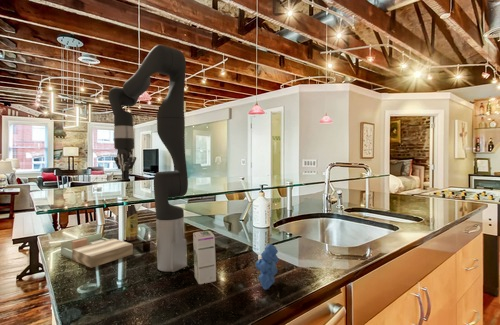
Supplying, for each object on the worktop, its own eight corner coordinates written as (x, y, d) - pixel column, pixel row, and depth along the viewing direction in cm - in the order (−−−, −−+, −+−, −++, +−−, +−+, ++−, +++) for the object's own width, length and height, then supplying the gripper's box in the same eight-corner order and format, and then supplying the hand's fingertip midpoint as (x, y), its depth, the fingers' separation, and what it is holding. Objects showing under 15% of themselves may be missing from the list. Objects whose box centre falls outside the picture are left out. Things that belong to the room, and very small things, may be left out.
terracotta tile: (87, 239, 114) (85, 238, 115) (73, 242, 110) (71, 241, 111) (87, 251, 114) (85, 250, 115) (74, 254, 110) (72, 253, 111)
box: (113, 247, 120) (113, 236, 120) (72, 259, 107) (71, 246, 107) (101, 243, 125) (101, 232, 125) (61, 254, 112) (60, 242, 112)
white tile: (100, 239, 123) (100, 244, 123) (88, 242, 119) (88, 247, 119) (106, 241, 120) (106, 246, 120) (94, 244, 116) (94, 249, 116)
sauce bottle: (132, 241, 128) (131, 198, 127) (120, 241, 129) (118, 197, 128) (140, 237, 134) (139, 195, 134) (129, 237, 135) (127, 195, 135)
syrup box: (216, 281, 87) (215, 234, 86) (197, 285, 84) (196, 236, 84) (211, 274, 92) (210, 229, 91) (193, 277, 89) (192, 232, 89)
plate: (133, 254, 112) (132, 244, 112) (91, 267, 99) (90, 256, 99) (113, 247, 120) (113, 238, 120) (72, 259, 107) (72, 249, 107)
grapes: (262, 275, 90) (261, 238, 90) (282, 278, 87) (282, 240, 87) (247, 292, 79) (246, 249, 79) (270, 296, 77) (269, 252, 76)
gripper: (141, 137, 115) (143, 179, 116) (123, 138, 123) (124, 178, 123) (124, 136, 109) (126, 181, 110) (106, 138, 117) (107, 179, 117)
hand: (125, 179), depth 117 cm, fingers closed
